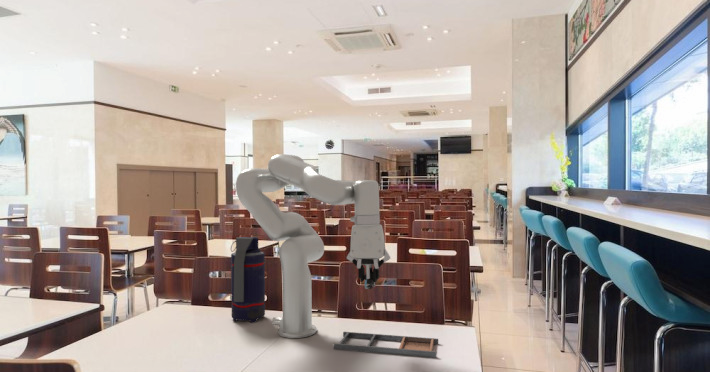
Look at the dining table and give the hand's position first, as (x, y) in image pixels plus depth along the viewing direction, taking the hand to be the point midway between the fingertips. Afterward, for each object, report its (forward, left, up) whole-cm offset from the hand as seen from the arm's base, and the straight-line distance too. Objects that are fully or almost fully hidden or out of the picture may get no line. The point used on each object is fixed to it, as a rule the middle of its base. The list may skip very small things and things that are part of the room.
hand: (369, 280), depth 132 cm
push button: (0, 0, -2) cm, 2 cm away
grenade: (-49, +15, -20) cm, 55 cm away
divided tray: (+5, 0, -20) cm, 20 cm away
